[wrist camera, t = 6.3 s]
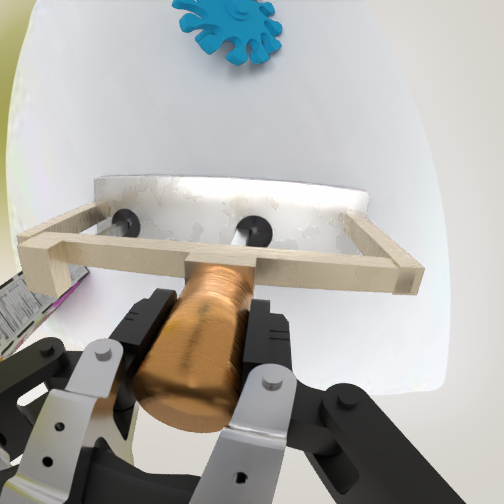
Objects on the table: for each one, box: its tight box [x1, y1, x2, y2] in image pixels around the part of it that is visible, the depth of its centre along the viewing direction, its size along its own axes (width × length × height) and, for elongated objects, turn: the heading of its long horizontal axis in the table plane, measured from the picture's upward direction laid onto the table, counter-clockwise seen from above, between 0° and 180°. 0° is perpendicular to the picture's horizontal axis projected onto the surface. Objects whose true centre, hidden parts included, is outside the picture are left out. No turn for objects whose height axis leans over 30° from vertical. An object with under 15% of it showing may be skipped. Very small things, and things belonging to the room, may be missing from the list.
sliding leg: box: [132, 228, 257, 433], centre depth 15 cm, size 3×3×18 cm
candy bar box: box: [0, 265, 89, 362], centre depth 21 cm, size 11×5×16 cm, turn 126°
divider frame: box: [17, 175, 425, 298], centre depth 19 cm, size 9×25×14 cm, turn 87°
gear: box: [172, 0, 282, 66], centre depth 17 cm, size 11×6×10 cm
